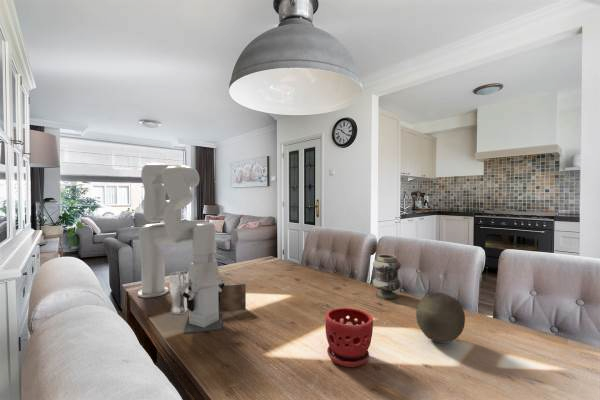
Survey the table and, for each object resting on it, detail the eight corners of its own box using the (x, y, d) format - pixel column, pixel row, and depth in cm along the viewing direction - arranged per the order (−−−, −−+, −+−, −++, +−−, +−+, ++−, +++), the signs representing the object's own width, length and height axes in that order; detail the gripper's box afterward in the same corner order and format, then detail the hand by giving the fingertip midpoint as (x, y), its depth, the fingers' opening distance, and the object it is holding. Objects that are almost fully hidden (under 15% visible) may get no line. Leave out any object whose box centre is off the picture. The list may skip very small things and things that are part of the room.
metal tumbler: (182, 316, 109) (181, 276, 108) (165, 314, 110) (165, 275, 110) (192, 308, 116) (192, 271, 115) (176, 307, 117) (176, 270, 116)
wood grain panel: (197, 314, 111) (197, 287, 110) (197, 312, 112) (197, 286, 111) (245, 309, 115) (245, 284, 115) (245, 308, 116) (245, 283, 116)
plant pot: (374, 373, 75) (375, 327, 74) (323, 368, 77) (323, 323, 76) (370, 347, 88) (371, 307, 87) (326, 343, 90) (327, 304, 89)
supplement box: (219, 320, 104) (219, 285, 104) (203, 328, 98) (203, 291, 97) (204, 315, 108) (204, 281, 108) (188, 323, 101) (188, 287, 101)
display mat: (184, 333, 95) (184, 332, 95) (188, 318, 107) (188, 316, 107) (222, 329, 98) (222, 327, 98) (222, 314, 110) (222, 313, 110)
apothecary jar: (385, 289, 139) (385, 252, 139) (406, 297, 129) (407, 256, 128) (367, 294, 133) (367, 254, 132) (387, 302, 122) (388, 260, 122)
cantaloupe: (407, 331, 97) (408, 287, 97) (448, 330, 98) (449, 286, 98) (428, 355, 83) (429, 303, 83) (476, 353, 84) (477, 302, 84)
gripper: (220, 252, 111) (220, 297, 111) (174, 260, 99) (175, 310, 99) (231, 256, 105) (231, 302, 106) (184, 264, 93) (184, 317, 94)
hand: (204, 306), depth 103 cm, fingers open, 9 cm apart
